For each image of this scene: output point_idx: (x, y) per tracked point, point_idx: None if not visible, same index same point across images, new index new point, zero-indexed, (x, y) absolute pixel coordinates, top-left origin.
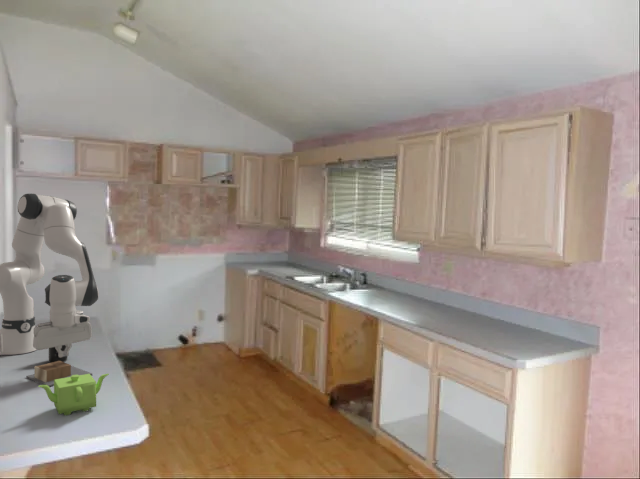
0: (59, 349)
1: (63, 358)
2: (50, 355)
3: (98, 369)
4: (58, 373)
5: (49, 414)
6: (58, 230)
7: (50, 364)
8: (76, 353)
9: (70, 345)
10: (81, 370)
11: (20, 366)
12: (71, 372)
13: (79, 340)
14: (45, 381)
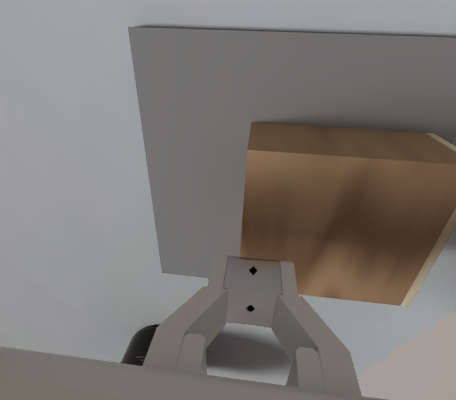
0: (326, 340)
1: (152, 338)
2: None
3: (62, 114)
4: (348, 141)
5: None
6: None
7: (325, 270)
8: (83, 354)
9: (169, 343)
10: (156, 158)
11: (285, 381)
12: (215, 172)
13: (3, 369)
14: (435, 136)
